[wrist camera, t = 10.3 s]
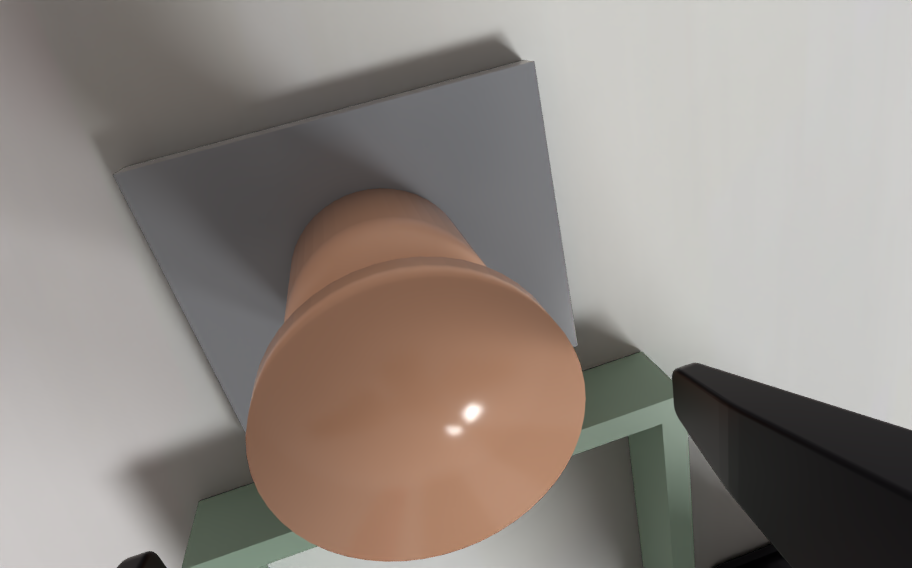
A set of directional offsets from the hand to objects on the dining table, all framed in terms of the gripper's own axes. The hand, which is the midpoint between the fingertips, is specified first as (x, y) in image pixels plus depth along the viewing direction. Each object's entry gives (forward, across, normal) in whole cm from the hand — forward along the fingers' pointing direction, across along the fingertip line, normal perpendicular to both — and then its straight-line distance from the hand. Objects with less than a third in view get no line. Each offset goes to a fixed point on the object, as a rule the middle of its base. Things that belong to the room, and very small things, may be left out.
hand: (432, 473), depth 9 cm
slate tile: (+10, 0, 0) cm, 10 cm away
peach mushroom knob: (+9, 0, 0) cm, 9 cm away
